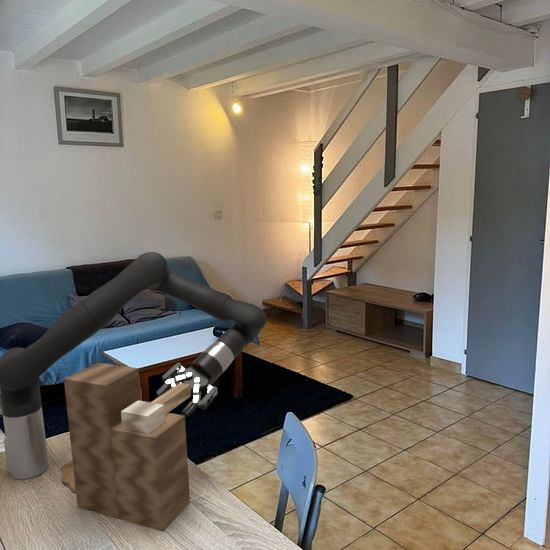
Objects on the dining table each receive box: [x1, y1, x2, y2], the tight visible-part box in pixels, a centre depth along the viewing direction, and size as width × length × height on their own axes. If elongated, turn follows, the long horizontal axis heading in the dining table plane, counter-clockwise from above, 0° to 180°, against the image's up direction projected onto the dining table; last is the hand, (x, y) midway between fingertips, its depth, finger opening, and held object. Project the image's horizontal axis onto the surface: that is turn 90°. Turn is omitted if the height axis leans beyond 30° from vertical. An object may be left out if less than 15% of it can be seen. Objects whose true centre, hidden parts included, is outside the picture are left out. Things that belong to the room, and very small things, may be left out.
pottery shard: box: [60, 459, 76, 494], centre depth 135 cm, size 8×16×2 cm, turn 26°
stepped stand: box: [63, 362, 191, 532], centre depth 120 cm, size 24×11×32 cm, turn 67°
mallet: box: [121, 383, 192, 434], centre depth 121 cm, size 7×20×4 cm, turn 157°
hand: (169, 406), depth 128 cm, fingers open, 8 cm apart
